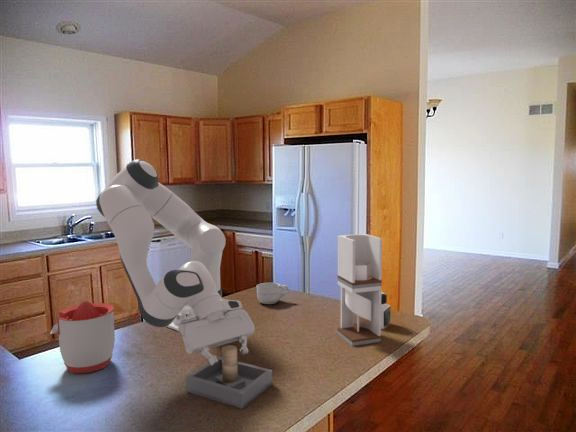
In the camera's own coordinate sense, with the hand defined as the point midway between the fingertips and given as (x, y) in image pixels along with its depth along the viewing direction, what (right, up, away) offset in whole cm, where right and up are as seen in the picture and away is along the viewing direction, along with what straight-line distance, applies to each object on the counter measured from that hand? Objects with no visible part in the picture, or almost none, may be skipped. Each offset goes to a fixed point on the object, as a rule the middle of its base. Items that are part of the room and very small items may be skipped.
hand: (230, 358), depth 115 cm
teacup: (+8, 0, +75) cm, 76 cm away
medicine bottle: (+49, -3, +47) cm, 68 cm away
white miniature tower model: (+39, -4, +35) cm, 53 cm away
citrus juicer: (-45, -8, +15) cm, 48 cm away
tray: (0, -8, +1) cm, 8 cm away
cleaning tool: (0, -7, +1) cm, 7 cm away
